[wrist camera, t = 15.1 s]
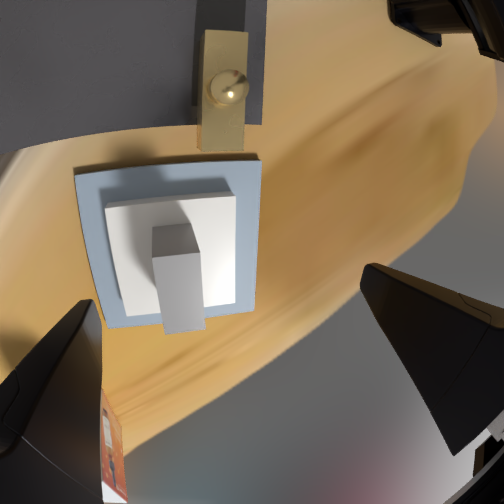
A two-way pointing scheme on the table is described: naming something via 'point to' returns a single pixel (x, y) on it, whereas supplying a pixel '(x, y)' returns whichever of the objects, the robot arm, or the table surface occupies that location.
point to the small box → (111, 455)
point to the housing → (113, 64)
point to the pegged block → (222, 90)
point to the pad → (167, 184)
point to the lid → (174, 255)
